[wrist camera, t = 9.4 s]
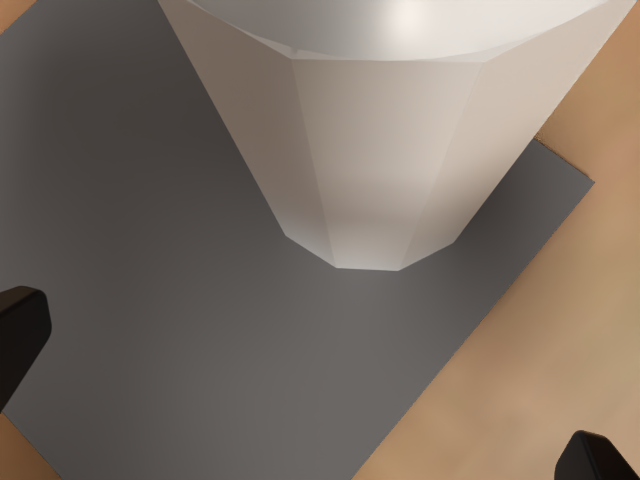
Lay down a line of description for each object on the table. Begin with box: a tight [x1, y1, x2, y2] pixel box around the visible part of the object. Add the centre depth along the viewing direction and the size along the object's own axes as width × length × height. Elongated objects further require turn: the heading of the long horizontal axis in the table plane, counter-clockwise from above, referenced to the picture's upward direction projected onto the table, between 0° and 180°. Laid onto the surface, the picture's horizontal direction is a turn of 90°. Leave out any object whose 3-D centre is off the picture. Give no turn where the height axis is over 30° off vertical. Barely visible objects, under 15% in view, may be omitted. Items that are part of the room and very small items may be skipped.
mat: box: [0, 0, 595, 480], centre depth 18 cm, size 20×18×1 cm
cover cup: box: [158, 0, 637, 271], centre depth 12 cm, size 7×7×12 cm
